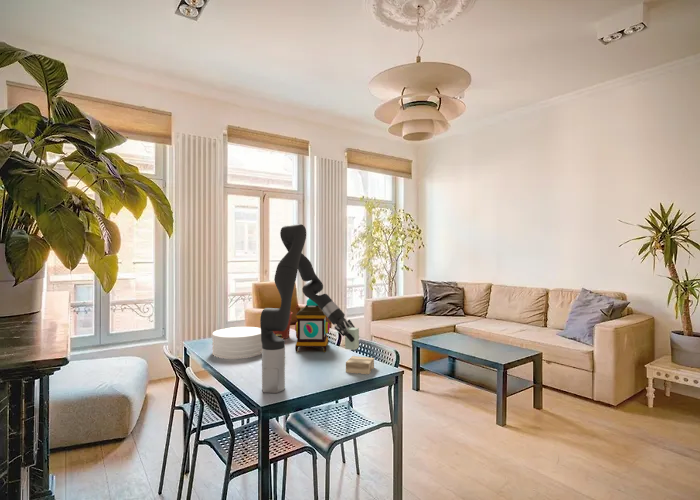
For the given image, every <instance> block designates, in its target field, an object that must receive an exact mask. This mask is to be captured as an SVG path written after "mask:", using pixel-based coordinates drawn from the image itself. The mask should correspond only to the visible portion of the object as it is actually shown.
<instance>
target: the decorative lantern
mask: <svg viewBox="0 0 700 500" xmlns="http://www.w3.org/2000/svg"><path fill="white" fill-rule="evenodd" d="M295 317H296V319H297V322H296V323H295V326H294V328H295V329H294V331H295V333H296V332H297V333H298V340H297V341H296V343H295V346H294V347H295V350H294V351H295V352H299V348H322V349H323V352H324V353H326V351H327V346H328V345H329V342H330V341H329V337H328V335H327V334H328V333H329V332H330V323H329V322H328V321H327V317H326V315H325V314H324V312H323V311H322V310H321V308H320V307H319V306H318V305H317V304H316V303H315V302H314V301H312V300H311V299H309V298H307V300H306V304H305V306H304V307H301V309H300V310H299V311H298V312H297V313H296V314H295Z"/></svg>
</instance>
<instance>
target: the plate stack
mask: <svg viewBox="0 0 700 500" xmlns="http://www.w3.org/2000/svg"><path fill="white" fill-rule="evenodd" d="M211 335H212V339H211V340H212V349H211V350H212V356H213V355H214V356H213V357H215V356H216V357H215V358H218V357H219V359H223V358H224V360H225V359H226V360H238V359H248V357H249V358H252V357H253V358H254V357H256V356H260V355H262V342H261V327H257V326H256V327H255V326H235V327H234V326H233V327H226V328H220V329H217V330H214V331H213V332H212V334H211Z"/></svg>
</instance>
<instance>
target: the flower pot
mask: <svg viewBox="0 0 700 500" xmlns="http://www.w3.org/2000/svg"><path fill="white" fill-rule="evenodd" d="M292 316H293V312H292V311H290V316H289V322H288V326H287V328H286V330H285V331H273V333H274V334H281V335H282V339H283V340H286V339H288V338H290V331H291V330H290V329H291V320H292Z"/></svg>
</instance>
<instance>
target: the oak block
mask: <svg viewBox="0 0 700 500" xmlns="http://www.w3.org/2000/svg"><path fill="white" fill-rule="evenodd" d="M372 369H375V358H374V357H367V356H366V357H365V356H356V355H352V356H351V357H350V358H349V359H348V360H346V361H345V373H347V374H348V373H349V374H351V373H352V374H358V373H361V375H370V374H371V372H372V371H373V370H372ZM371 370H372V371H371Z"/></svg>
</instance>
